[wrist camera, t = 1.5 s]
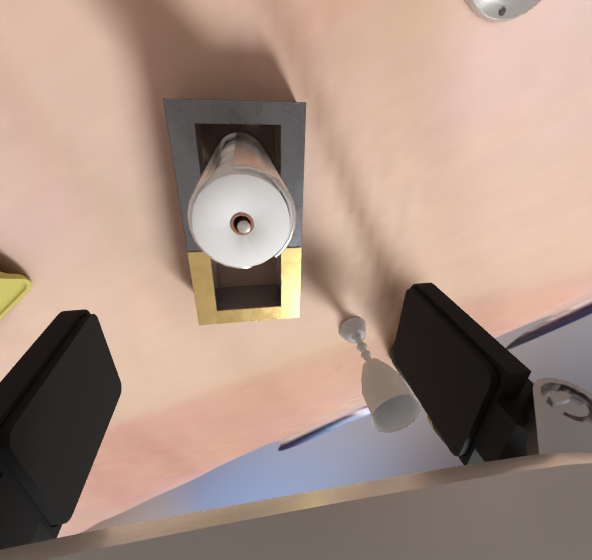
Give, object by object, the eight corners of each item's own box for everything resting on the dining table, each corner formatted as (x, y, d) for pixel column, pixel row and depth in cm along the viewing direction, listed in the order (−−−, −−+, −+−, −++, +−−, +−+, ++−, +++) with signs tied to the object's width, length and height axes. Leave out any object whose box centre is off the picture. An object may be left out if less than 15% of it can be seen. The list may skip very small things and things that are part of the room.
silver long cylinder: (213, 182, 40) (184, 272, 19) (215, 127, 37) (184, 158, 16) (263, 189, 42) (290, 280, 20) (269, 137, 39) (309, 177, 17)
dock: (174, 99, 35) (162, 98, 30) (296, 102, 37) (306, 102, 32) (203, 300, 48) (199, 325, 43) (292, 294, 50) (299, 317, 45)
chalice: (361, 346, 58) (405, 434, 43) (328, 342, 57) (362, 431, 41) (377, 315, 55) (431, 397, 40) (342, 309, 53) (385, 392, 38)
